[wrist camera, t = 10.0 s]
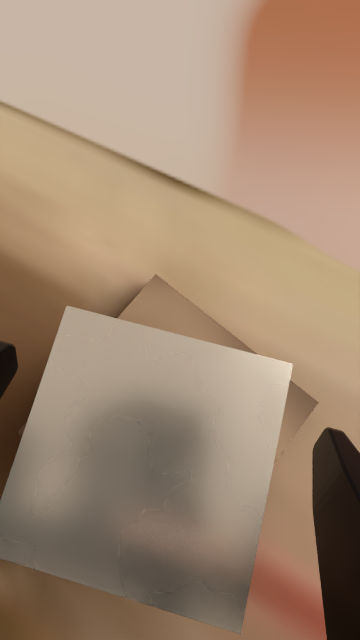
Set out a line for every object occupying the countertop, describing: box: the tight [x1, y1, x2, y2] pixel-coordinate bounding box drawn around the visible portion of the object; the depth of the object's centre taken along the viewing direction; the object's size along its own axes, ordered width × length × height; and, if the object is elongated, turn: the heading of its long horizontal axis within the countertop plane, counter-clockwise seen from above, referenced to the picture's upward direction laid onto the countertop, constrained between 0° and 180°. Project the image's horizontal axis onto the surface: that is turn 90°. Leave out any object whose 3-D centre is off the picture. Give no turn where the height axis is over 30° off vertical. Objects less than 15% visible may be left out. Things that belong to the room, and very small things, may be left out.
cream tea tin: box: [0, 306, 293, 634], centre depth 13 cm, size 6×6×11 cm
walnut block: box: [17, 274, 318, 465], centre depth 20 cm, size 12×12×2 cm
